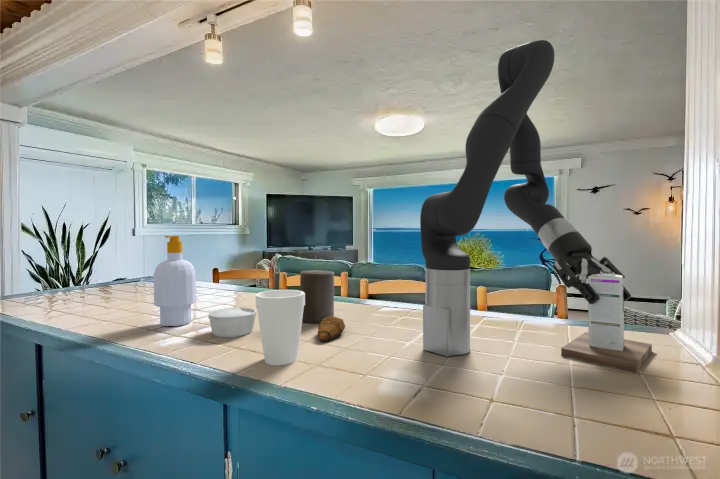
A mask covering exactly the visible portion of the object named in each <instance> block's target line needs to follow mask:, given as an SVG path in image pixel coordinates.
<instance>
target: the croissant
mask: <svg viewBox="0 0 720 479" xmlns="http://www.w3.org/2000/svg"><path fill="white" fill-rule="evenodd" d="M345 329H346V324H345V321H344V319H343V318H340V317H336V316H335V315H334V316H332V315H331V316H329V317H327V318H324V319H323V320H322V321H321V323H319V325H318V327H317V334H318V338H319V341H320V342H329V341H331V340H334V339H335V338H337V337H339V336H341V335H342V333H343V332H344V331H345Z"/></svg>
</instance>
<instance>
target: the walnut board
mask: <svg viewBox="0 0 720 479" xmlns="http://www.w3.org/2000/svg"><path fill="white" fill-rule="evenodd" d="M560 349H561V350H560V352H561V353H560V355H561V357H566V358H567V357H568V358H570V359H574V360H579V361H583V362H588V363H593V364H597V365H601V366H606V367H610V368H615V369H618V370H619V369H620V370H623V371H628V372H632V373H636V374H637V372H638V371H639V369H640V368H641V367H642V365H643V364H644V363H645V361H646V360H647V359H648V358H649V356H650V354H652V351H653V344H652V343H646V342H642V341H637V340H631V339H625V338H624V348H623V351H622V352H621V351H614V350H608V349H601V348H596V347H591V346H589V332H585V331H584V332H583V333H582V334H580V335H579V336H577V337H576V338H574V339H573V340H571V341H570V342H568V343H566V344H565V345H564V346H562V347H561V348H560Z"/></svg>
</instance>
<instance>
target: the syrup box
mask: <svg viewBox="0 0 720 479" xmlns="http://www.w3.org/2000/svg"><path fill="white" fill-rule="evenodd" d="M587 280H588V281H587V283H589V285H590V286H591V287H592V288H593V290H594V291H595V292H596V293H597V295H598V296H599V298H600V299H599V300H598V301H597V302H596V303H595V304H589V302H588V301H587V307H588V308H587V312H588V315H587V316H588V318H587V319H588V322H587V323H588V333H589V346H591V347H596V348H601V349H608V350H614V351H621V352H622V351H623V348H624V339H625V331H624V330H625V311H624V310H625V304H624V302H625V301H624V296H623V286H624V279H623V276H622V275H616V274H615V273H612V274H603V273H600V274H592V275H590V276H589V277H588V279H587Z"/></svg>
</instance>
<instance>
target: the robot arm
mask: <svg viewBox="0 0 720 479" xmlns="http://www.w3.org/2000/svg"><path fill="white" fill-rule="evenodd" d="M554 62H555V49H554V47H553V44H552V43H551V42H549V41H548V40H545V39H539V40H538V39H537V40H532V41H530V42H525V43H523V44H520V45H517V46H514V47H513V46H512V48H508V49H506V50H504V51H503V52H502V54H500V57H499V60H498V64H497V77H498V83H499V89H500V95H498V96H497V97H496V98H495V99H493V100H492V101H491V102H490V103H489V104H488V105H487V106H486V107H484V109H483V110H482V111H481V112H480V113H479V114H478V116H477V117H476V120H475V121H474V123H473V125H472V127H471V129H470V131H469V133H468V134H467V137H466V141H465V147H464V148H465V159H466V164H465V167H464V171H463V172H462V174H461V176H460V178H459V180H458V181H457V183H456V185H455V186H454V188H453V189H451V190H450V191H445V192H440V193H439V192H438V193H433V194H431V195H429V196H428V197H426V199H425V200H424V202H423V204H422V206H421V209H420V215H419V216H420V217H419V221H420V222H419V224H420V227H419V228H420V244H421V253H422V257H423V258H424V261H425V262H424V263H425V265H424V266H425V267H424V268H425V285H424V286H425V289H424V290H425V296H424V297H425V298H424V299H425V300H424V301H425V304H424V305H423V306H422V350H424V351H427V352H430V353H433V354H437V355H440V356H444V357H451V356H461V355H466V354H468V353H469V352H471V258H470V255H469V254H468V253H466V252H465V251H464V250H462V249H461V248H460V247H459V245H458V242H457V237H458V236H459V237H460V236H465V235H467V234H469V233H470V232H471V231H472V230H474V228H475V227H476V225H477V224H478V222H479V220H480V217H481V214H482V212H483V209H484V206H485V203H486V201H487V198H488V196H489V193H490V190H491V187H492V184H493V183H494V181H495V178H496V175H497V173H498V172H499V169H500V167H501V165H502V162H503V160H504V159H505V157H506V155H507V153H508V151H509V159H510V164H509V165H510V166H509V167H510V171H511V173H512V174H514V175H517V176H519V175H520V176H525V178H526V180H527V182H524V183H523V182H522V183H517V184H513V185H510V186H509V187H508V188H507V189H506V190H505V192H504V195H503V196H504V197H503V198H504V203H505V205H506V207H507V209H508V210H509V211H510V212H511V213H512V214H514V216H516V217H518V218H519V219H520V220H522V221H523V222H524V223H526V224H528V225H529V226H530V227H531V228H532V230H533V231H534V232H535V234H536V235H537V236H538V238H539V239H540V242H541V243H542V245H543V246H544V247H545V249H546V250H547V251H548V253H549V254H550V255H551V256H552V258H553V259H554V261H555V263H554V264H553V265H552V268H553V270H554V271H555V273H556V274H557V276H558V277H559V279H560V280H561V281H562V283H563V284H564V286H565V287H566V288H574V289H575V290H576V291H577V290H578V292H579V293H580V294H581V296H582V297H583V298H584V299H585V301H587V303H588V302H589V304H595V303H596V302H597V301H598V300H599V299H600V298H599V296H598V295H597V293H596V292H595V291H594V290H593V288H592V287H591V286H590V285H589V283H588V281H587V280H588V277H589V276H590V275H592V274H616V275H622V276H623V280H624V279H625V278H626V276H625V275H624V274H623V273H622V272H621V271H620V270H619V269H618V268H617V267H616V266H615V265H614V263H613V262H611V261H610V259H609V258H608V257H606V256H603V257H602V258H601V259H598V258H596V257H595V256H593V255H592V251H593V248H592V247H593V246H592V245H591V244H590V243H589V241H587V240H586V239H585V237H584V236H583V235H582V234H581V233H580V231H578V229H577V228H575V226H574V225H573V224H572V223H571V222H569V220H567V219H566V218H565V217H564V215H562V213H561V212H560V211H559V210H558V208H556V206H554V205H552V204H549V203H547V202H548V199H549V198H550V196H549V194H550V192H549V191H550V190H549V186H548V183H547V180H546V176H545V174H544V170H543V168H542V161H541V160H542V156H541V155H542V152H541V148H542V146H541V139H540V134H539V131H538V128H537V127H536V125H534V123H533V121H532V119H531V118H530V117H529V115H528V111H529V110H530V108H531V106H532V104H533V102H534V101H535V99H536V98H537V96H538V95H539V93H540V92H541V90H542V89H543V87H544V86H545V84H546V82H547V81H548V78H549V77H550V75H551V73H552V70H553V68H554ZM601 272H602V273H601ZM567 277H569V279H568V278H567ZM623 296H624V302H626V301H628V300H630V298H631V297H632V294H631V293H630V291H629V290H627V288H626V286H624V285H623Z"/></svg>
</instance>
